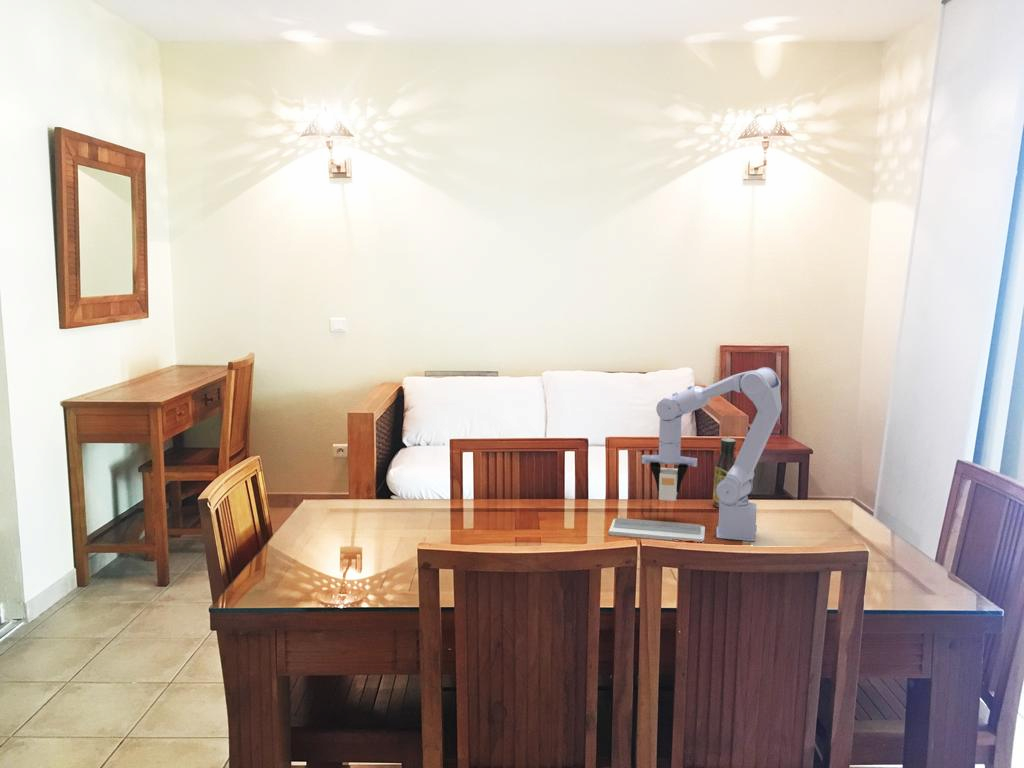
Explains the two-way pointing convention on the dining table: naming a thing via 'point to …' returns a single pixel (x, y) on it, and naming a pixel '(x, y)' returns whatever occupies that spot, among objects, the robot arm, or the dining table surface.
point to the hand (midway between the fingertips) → (668, 490)
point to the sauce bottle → (723, 464)
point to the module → (668, 484)
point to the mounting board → (656, 534)
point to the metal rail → (657, 526)
